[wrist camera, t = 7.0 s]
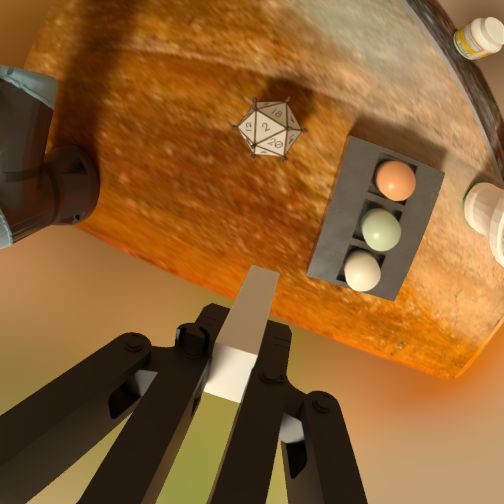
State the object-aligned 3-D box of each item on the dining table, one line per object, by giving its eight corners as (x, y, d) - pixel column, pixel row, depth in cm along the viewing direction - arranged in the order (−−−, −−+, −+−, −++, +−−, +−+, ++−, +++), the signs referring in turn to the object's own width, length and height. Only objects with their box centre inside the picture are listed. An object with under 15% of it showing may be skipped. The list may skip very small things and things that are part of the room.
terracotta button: (370, 189, 38) (374, 193, 35) (380, 155, 36) (386, 156, 33) (401, 200, 37) (408, 206, 34) (412, 167, 36) (420, 170, 33)
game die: (289, 125, 43) (332, 126, 35) (257, 169, 44) (297, 180, 35) (246, 86, 38) (285, 76, 30) (210, 133, 39) (241, 133, 30)
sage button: (355, 236, 39) (358, 244, 36) (367, 202, 38) (371, 208, 35) (387, 247, 39) (392, 255, 36) (399, 214, 37) (406, 220, 34)
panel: (306, 264, 47) (306, 275, 43) (346, 135, 39) (350, 135, 35) (388, 289, 46) (394, 301, 42) (434, 169, 38) (445, 172, 34)
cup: (496, 243, 39) (541, 280, 26) (444, 233, 41) (486, 271, 28) (510, 178, 35) (563, 198, 22) (458, 162, 36) (509, 176, 23)
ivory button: (339, 275, 43) (340, 285, 40) (350, 245, 41) (353, 253, 38) (369, 284, 43) (372, 295, 40) (381, 255, 41) (386, 264, 38)
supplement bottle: (452, 53, 30) (481, 38, 22) (452, 24, 28) (478, 5, 19) (481, 65, 30) (513, 55, 21) (480, 37, 28) (510, 22, 19)
